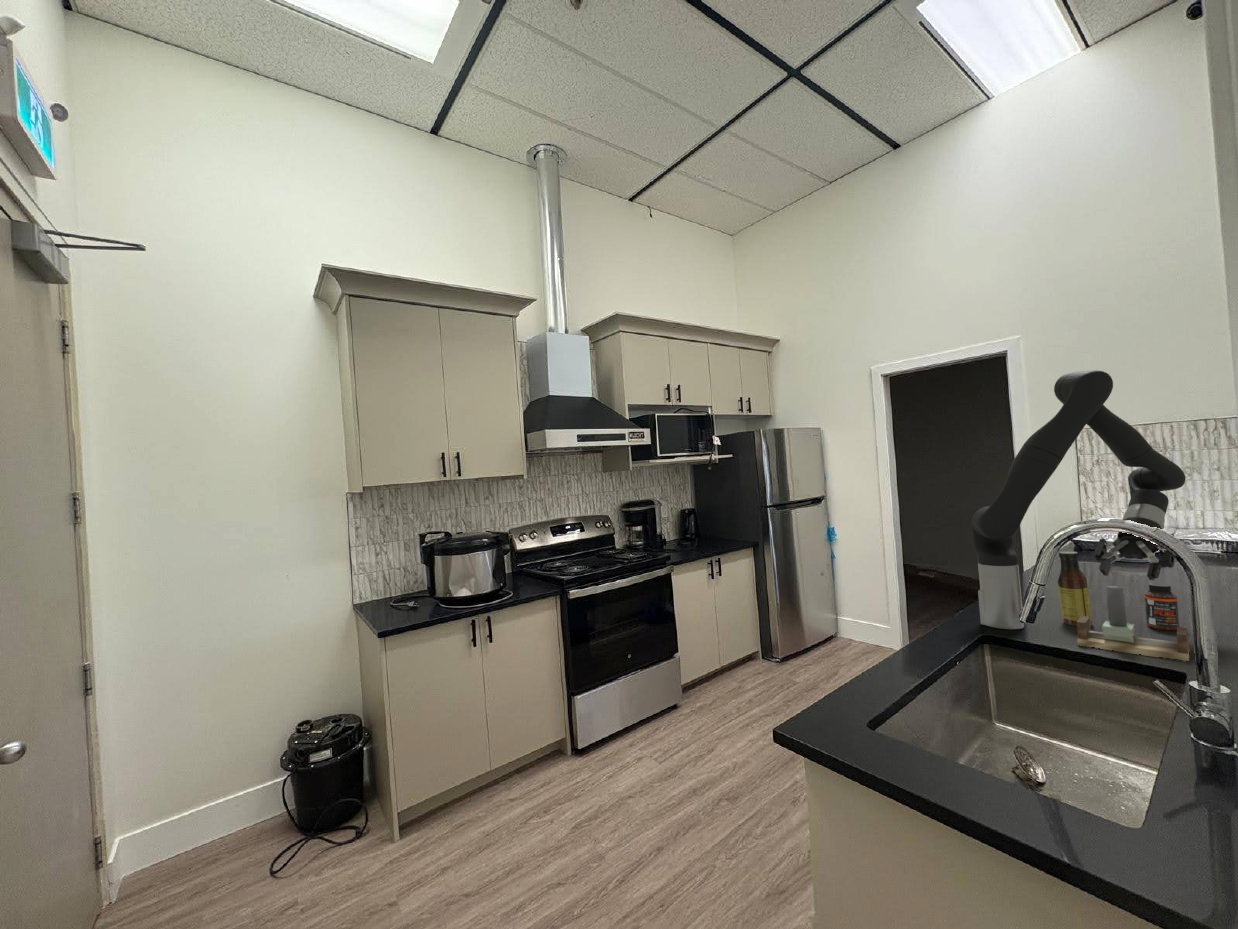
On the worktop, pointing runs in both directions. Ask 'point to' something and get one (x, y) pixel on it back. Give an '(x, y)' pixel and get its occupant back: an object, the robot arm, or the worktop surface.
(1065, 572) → the sauce bottle
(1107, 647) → the rail board
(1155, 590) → the supplement bottle
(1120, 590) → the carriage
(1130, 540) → the robot arm
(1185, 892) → the worktop surface
